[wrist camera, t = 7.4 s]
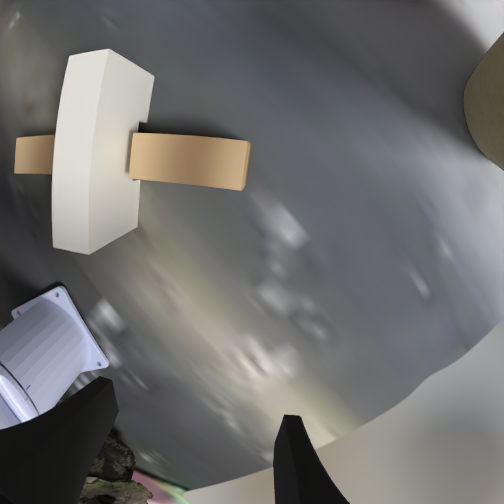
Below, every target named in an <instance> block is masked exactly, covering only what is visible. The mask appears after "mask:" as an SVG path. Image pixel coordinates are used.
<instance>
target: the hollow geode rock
mask: <svg viewBox="0 0 504 504" xmlns="http://www.w3.org/2000/svg"><path fill="white" fill-rule="evenodd" d="M134 460H135V456H134V454H133V452H132V451H131V449H130V448H129V447H128V446H127V445H125V444H124V443H123V442H122V441H121V440H120V439H119V438H117V437H116V436H115V433H113V432H111V431H110V433H109V435H108V437H107V439H106V440H105V442H104V444H103V446H102V448H101V449H100V451H99V453H98V455H97V457H96V459H95V460H94V462H93V464H92V466H91V468H90V470H89V473H88V475H87V478H86V481H85V483H84V486H83V489H82V492H81V495H80V499H79V502H78V504H148V503H147V501H146V500H147V499H150V498H152V497H153V494H152V493H151V492H149V491H148V490H147V489H146V488H145V487H144V486H143V485H142V484H141V483H136V482H135V481H134V480H131V478H132V475H133V471H134V466H135V463H136V462H135V461H134Z"/></svg>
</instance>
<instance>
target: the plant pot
mask: <svg viewBox="0 0 504 504" xmlns="http://www.w3.org/2000/svg"><path fill="white" fill-rule="evenodd" d="M463 104H464V113H465V118H466V122H467V125H468V129H469V131H470V134H471V136H472V138H473V140H474V142H475V143H476V145H477V147H478V148H479V149H480V151H481V152H482V153H483V154H484V155H485V156H486V157H487V158H488V159H490V160H491V161H492V162H493V163H494V164H496V165H497V166H498V167H499V168H501V169H502V170H503V171H504V32H503V34H502V35H501V36H500V37H499V38H498V39H497V41H496V42H495V43H494V44H493V45H492V47H491V48H490V49H489V50H488V52H487V53H486V54H485V56H484V57H483V58H482V60H481V61H480V63H479V64H478V66H477V67H476V68H475V70H474V71H473V73H472V74H471V76H470V78H469V79H468V81H467V83H466V86H465V90H464V98H463Z"/></svg>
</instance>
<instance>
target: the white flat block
mask: <svg viewBox="0 0 504 504" xmlns="http://www.w3.org/2000/svg"><path fill="white" fill-rule="evenodd" d="M153 83H154V76H153V75H151V74H150V73H148V72H147V71H145V70H143V69H142V68H140V67H139V66H137V65H135V64H134V63H132V62H130V61H129V60H127V59H126V58H124V57H122V56H121V55H119V54H117V53H115V52H114V51H112V50H110V49H105V50H99V51H93V52H87V53H82V54H76V55H72V56H69V60H68V64H67V69H66V73H65V78H64V83H63V88H62V93H61V99H60V105H59V112H58V119H57V126H56V135H55V145H54V157H53V174H52V233H53V247H54V248H59V249H64V250H68V251H73V252H78V253H83V254H88V255H90V254H91V253H93V252H95V251H96V250H98V249H100V248H102V247H103V246H105V245H107V244H108V243H110V242H112V241H114V240H115V239H117V238H119V237H121V236H122V235H124V234H126V233H128V232H130V231H131V230H133V229H135V228H137V227H138V208H139V193H140V180H139V179H129V168H130V157H131V148H132V139H133V133H138V126H139V123H147V119H148V112H149V106H150V100H151V94H152V88H153Z"/></svg>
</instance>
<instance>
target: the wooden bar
mask: <svg viewBox="0 0 504 504" xmlns="http://www.w3.org/2000/svg"><path fill="white" fill-rule="evenodd" d="M54 145H55V135H42V136H31V137H21V138H17V140H16V153H15V173H17V174H53V157H54ZM250 152H251V144H250V143H249V142H248V141H242V140H233V139H224V138H214V137H203V136H190V135H175V134H154V133H133V139H132V148H131V157H130V168H129V179H141V180H152V181H163V182H173V183H182V184H192V185H200V186H209V187H217V188H225V189H233V190H240V191H241V190H242V189H243V188H244V187H245V186H246V180H247V173H248V166H249V159H250Z"/></svg>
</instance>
